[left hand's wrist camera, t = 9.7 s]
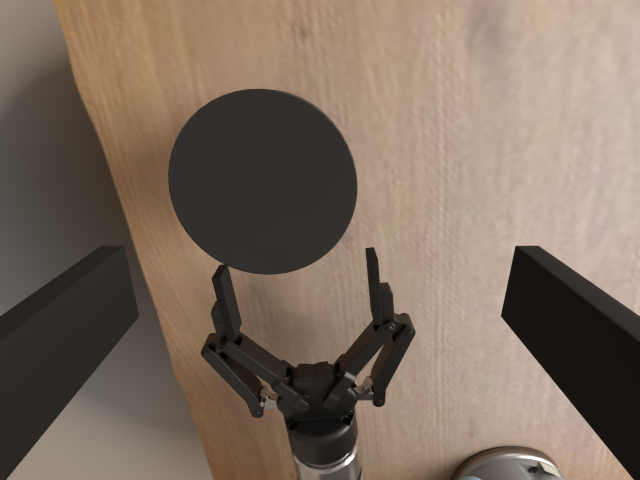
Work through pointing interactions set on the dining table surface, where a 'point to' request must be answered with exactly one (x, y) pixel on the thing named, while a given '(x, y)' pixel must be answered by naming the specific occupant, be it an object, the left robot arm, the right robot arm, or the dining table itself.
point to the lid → (263, 181)
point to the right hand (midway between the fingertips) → (294, 261)
